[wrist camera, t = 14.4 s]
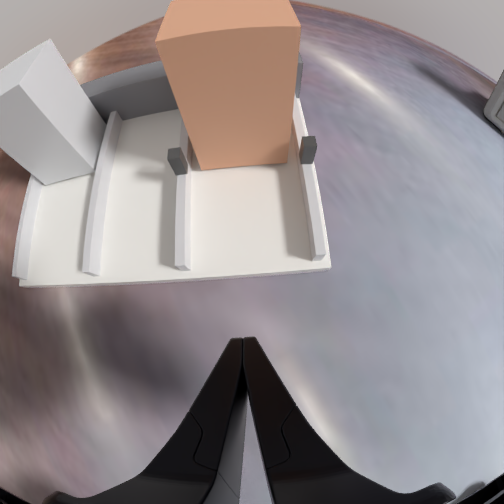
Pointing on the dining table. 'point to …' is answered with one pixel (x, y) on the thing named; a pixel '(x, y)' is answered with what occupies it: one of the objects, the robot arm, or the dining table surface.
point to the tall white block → (48, 117)
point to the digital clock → (496, 105)
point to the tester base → (169, 202)
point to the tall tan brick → (233, 77)
